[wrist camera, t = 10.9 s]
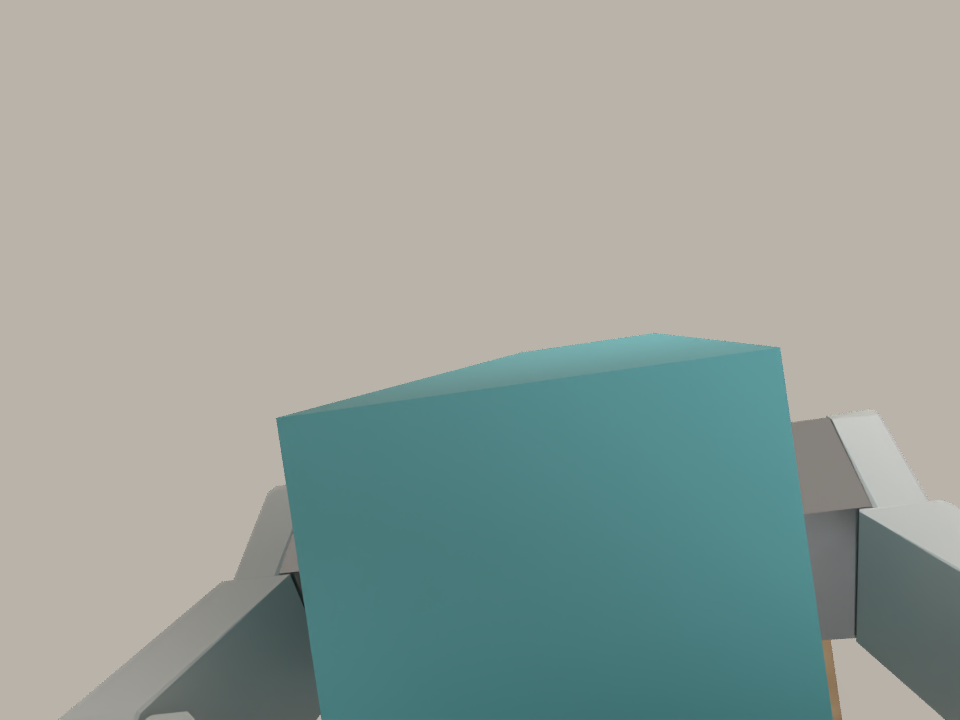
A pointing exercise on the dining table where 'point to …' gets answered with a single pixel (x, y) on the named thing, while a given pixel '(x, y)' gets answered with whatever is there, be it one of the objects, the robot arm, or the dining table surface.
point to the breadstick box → (561, 540)
